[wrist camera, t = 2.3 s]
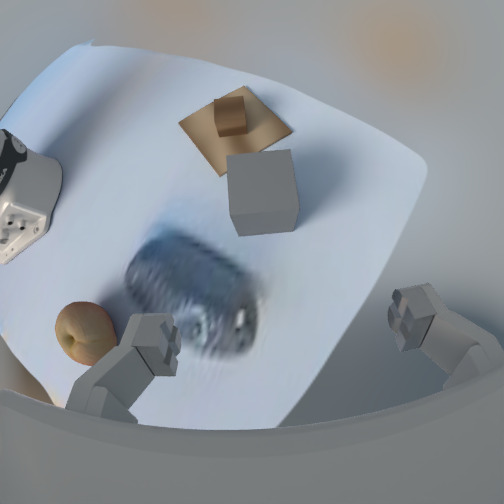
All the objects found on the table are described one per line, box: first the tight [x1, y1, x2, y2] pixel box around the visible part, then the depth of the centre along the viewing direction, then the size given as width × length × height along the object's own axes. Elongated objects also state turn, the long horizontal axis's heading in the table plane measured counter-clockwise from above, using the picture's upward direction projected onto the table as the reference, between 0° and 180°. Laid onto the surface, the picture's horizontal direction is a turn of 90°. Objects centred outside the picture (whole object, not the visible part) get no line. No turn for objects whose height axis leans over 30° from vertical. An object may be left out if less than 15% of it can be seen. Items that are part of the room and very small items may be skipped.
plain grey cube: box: [226, 149, 300, 237], centre depth 31 cm, size 7×7×8 cm
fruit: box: [55, 302, 117, 366], centre depth 29 cm, size 8×8×8 cm
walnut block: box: [214, 96, 248, 138], centre depth 35 cm, size 4×4×4 cm
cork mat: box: [178, 86, 292, 177], centre depth 37 cm, size 12×12×1 cm
